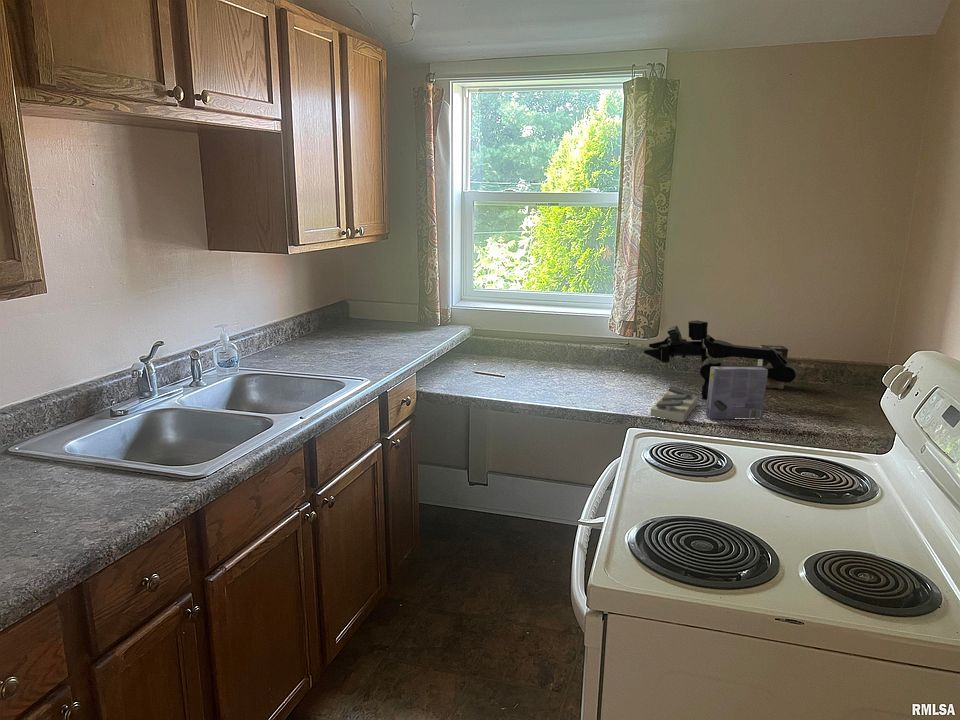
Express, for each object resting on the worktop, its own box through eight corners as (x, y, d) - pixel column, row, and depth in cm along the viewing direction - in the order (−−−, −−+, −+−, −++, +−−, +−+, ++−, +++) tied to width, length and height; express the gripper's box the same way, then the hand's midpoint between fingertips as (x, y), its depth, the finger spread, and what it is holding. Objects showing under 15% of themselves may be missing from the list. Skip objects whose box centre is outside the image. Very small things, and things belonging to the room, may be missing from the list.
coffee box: (759, 388, 268) (763, 348, 264) (754, 383, 275) (758, 344, 271) (783, 389, 267) (788, 349, 264) (778, 384, 274) (783, 345, 270)
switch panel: (696, 404, 248) (697, 392, 247) (683, 422, 228) (684, 409, 227) (666, 399, 253) (667, 388, 252) (650, 417, 233) (651, 404, 232)
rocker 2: (683, 403, 233) (682, 400, 233) (680, 406, 229) (680, 403, 229) (659, 404, 237) (659, 401, 237) (656, 407, 233) (656, 404, 233)
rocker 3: (692, 395, 247) (693, 392, 246) (690, 398, 243) (690, 395, 243) (670, 388, 250) (671, 385, 250) (668, 391, 247) (668, 388, 246)
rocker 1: (688, 396, 240) (687, 394, 239) (685, 399, 236) (685, 397, 236) (665, 398, 244) (664, 395, 243) (662, 401, 240) (662, 398, 240)
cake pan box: (759, 415, 236) (765, 365, 232) (766, 420, 231) (771, 369, 227) (704, 415, 236) (709, 365, 231) (709, 420, 231) (714, 369, 226)
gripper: (692, 322, 261) (650, 322, 268) (684, 333, 245) (640, 333, 252) (692, 350, 264) (651, 350, 271) (685, 363, 248) (641, 362, 255)
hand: (646, 348), depth 262 cm, fingers open, 9 cm apart
